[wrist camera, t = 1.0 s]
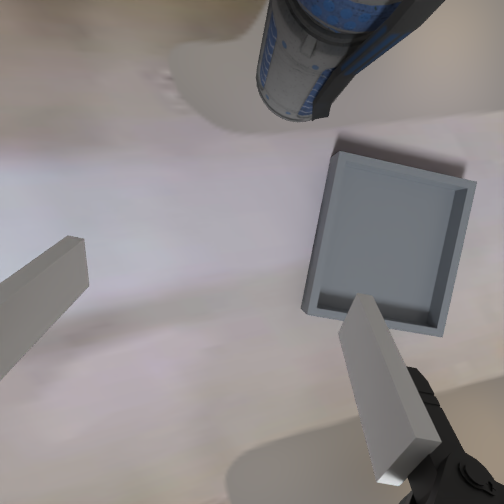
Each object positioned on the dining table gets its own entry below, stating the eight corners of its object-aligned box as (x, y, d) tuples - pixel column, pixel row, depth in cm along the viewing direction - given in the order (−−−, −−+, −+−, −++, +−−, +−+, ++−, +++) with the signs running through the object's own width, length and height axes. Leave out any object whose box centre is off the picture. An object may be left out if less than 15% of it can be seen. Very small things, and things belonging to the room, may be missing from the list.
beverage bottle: (266, 151, 37) (352, -23, 12) (246, 43, 36) (294, -401, 11) (343, 138, 37) (577, -53, 12) (326, 31, 36) (542, -408, 11)
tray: (330, 157, 37) (339, 150, 34) (457, 185, 39) (477, 181, 36) (300, 308, 38) (307, 314, 35) (426, 329, 40) (442, 337, 37)
